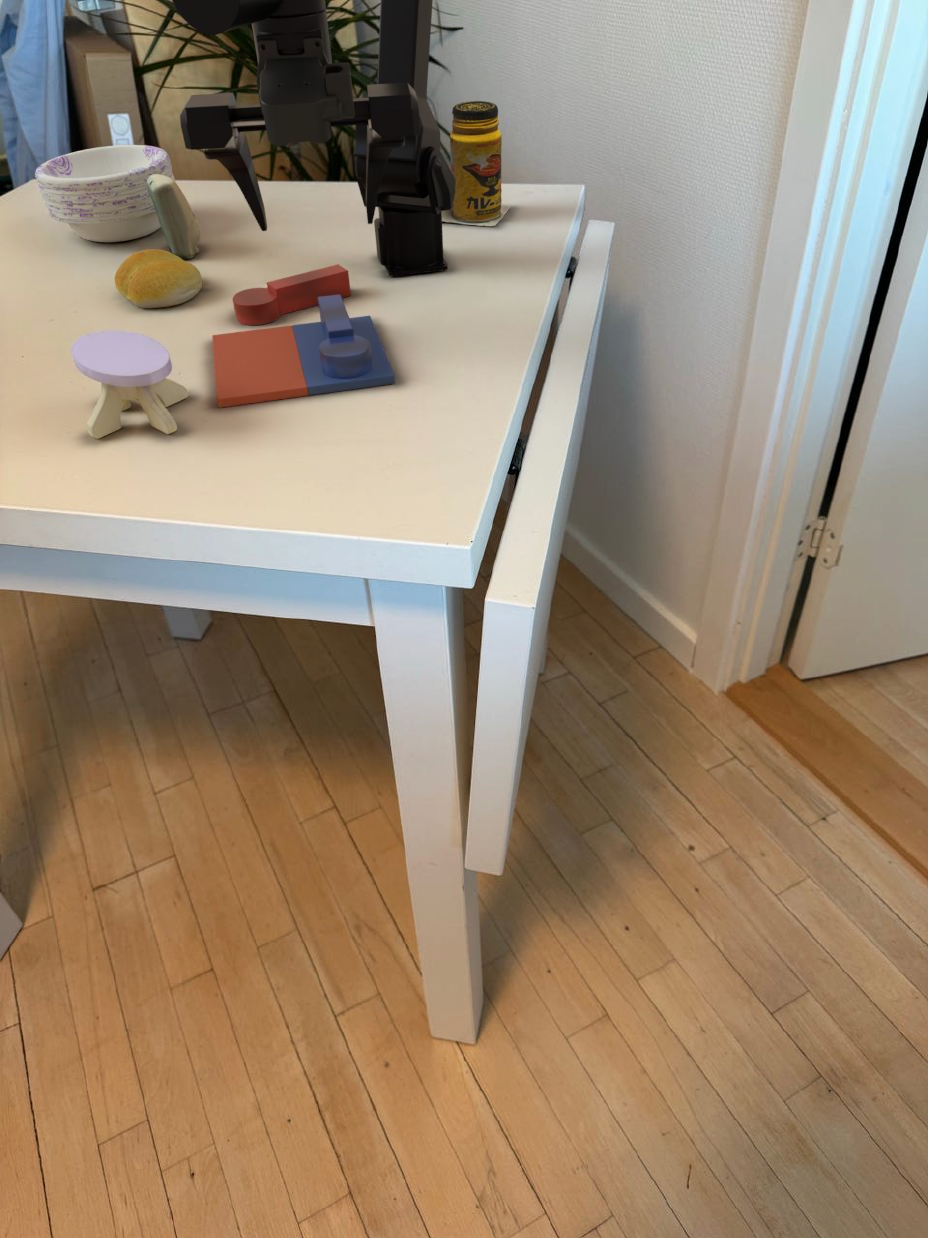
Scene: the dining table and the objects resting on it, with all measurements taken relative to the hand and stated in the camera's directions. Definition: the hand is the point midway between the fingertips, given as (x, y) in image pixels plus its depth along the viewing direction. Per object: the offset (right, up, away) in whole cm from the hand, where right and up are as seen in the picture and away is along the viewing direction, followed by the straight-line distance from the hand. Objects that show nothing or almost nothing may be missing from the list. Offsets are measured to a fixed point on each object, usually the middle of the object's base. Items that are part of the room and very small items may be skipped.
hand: (317, 225), depth 77 cm
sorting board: (-2, -11, +2) cm, 12 cm away
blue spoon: (+2, -10, +2) cm, 10 cm away
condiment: (+14, +15, +31) cm, 37 cm away
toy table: (-14, -18, -4) cm, 23 cm away
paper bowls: (-29, +13, +30) cm, 44 cm away
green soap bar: (-20, +8, +24) cm, 32 cm away
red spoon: (-4, -3, +12) cm, 13 cm away
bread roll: (-19, 0, +15) cm, 24 cm away
